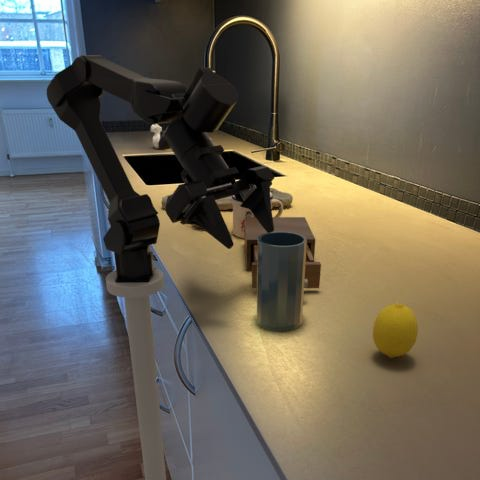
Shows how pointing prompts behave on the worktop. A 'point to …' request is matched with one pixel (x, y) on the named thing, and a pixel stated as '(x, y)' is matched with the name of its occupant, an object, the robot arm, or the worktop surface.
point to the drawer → (310, 270)
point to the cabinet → (280, 225)
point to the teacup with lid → (247, 215)
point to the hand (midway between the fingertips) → (252, 239)
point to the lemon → (395, 330)
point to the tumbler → (280, 280)
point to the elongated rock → (228, 201)
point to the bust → (156, 134)
